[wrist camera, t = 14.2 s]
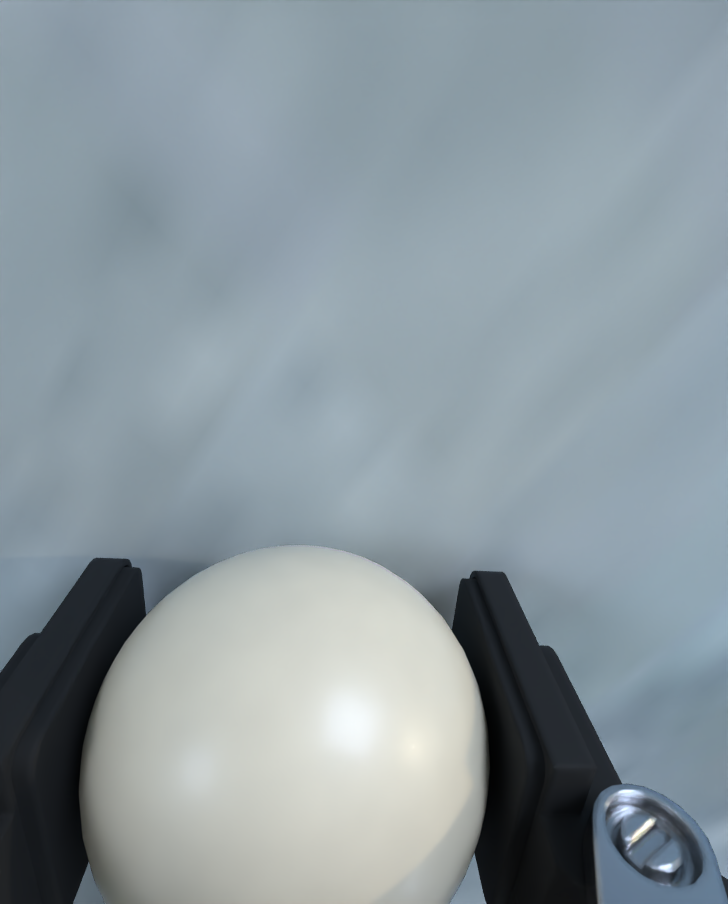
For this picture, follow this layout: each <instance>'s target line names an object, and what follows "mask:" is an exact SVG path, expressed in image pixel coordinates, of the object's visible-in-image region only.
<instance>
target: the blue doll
mask: <svg viewBox="0 0 728 904" xmlns="http://www.w3.org/2000/svg"><path fill="white" fill-rule="evenodd" d="M489 777H490V754H489V737H488V725H487V721H486V716H485V712H484V707H483V703H482V698H481V694H480V690H479V686H478V683H477V681H476V678H475V676H474V673H473V671H472V668H471V666H470V664H469V661H468V659H467V657H466V654H465V652H464V650H463V648H462V647H461V645H460V643H459V642H458V640H457V639H456V637H455V635H454V634H453V632H452V631H451V629H450V628H449V626H448V624H447V623H446V621H445V620H444V618H443V617H442V616H441V615H440V614H439V613H438V612H437V611H436V609H435V608H434V607H433V606H432V605H431V604H430V603H429V602H428V601H427V600H426V599H425V597H424V596H423V595H422V594H421V593H419V592H418V591H417V590H416V589H415V588H414V587H412V586H411V585H410V584H409V583H408V582H406V581H405V580H403V579H402V578H400V577H399V576H397V575H395V574H394V573H392V572H391V571H389V570H388V569H386V568H384V567H383V566H381V565H379V564H377V563H375V562H373V561H371V560H369V559H366V558H364V557H362V556H359V555H356V554H353V553H350V552H347V551H343V550H338V549H333V548H328V547H322V546H311V545H281V546H274V547H266V548H260V549H256V550H252V551H248V552H244V553H241V554H239V555H236V556H233V557H231V558H228V559H225V560H223V561H221V562H219V563H216V564H214V565H212V566H210V567H208V568H207V569H205V570H203V571H201V572H199V573H197V574H195V575H194V576H192V577H191V578H190V579H188V580H187V581H185V582H184V583H183V584H181V585H180V586H178V587H177V588H176V589H174V590H173V591H172V592H171V593H169V594H168V595H167V596H166V597H165V598H164V599H162V600H161V601H160V602H159V603H158V604H157V605H156V606H155V607H154V608H153V609H152V610H151V611H150V612H149V613H148V614H147V615H146V617H145V618H144V619H143V620H142V621H141V622H140V624H139V625H138V626H137V627H136V629H135V630H134V631H133V632H132V634H131V635H130V636H129V638H128V639H127V640H126V642H125V643H124V645H123V646H122V648H121V650H120V651H119V653H118V655H117V656H116V658H115V660H114V661H113V663H112V665H111V667H110V669H109V671H108V672H107V674H106V676H105V678H104V680H103V683H102V685H101V688H100V690H99V693H98V695H97V697H96V700H95V703H94V706H93V709H92V712H91V715H90V718H89V721H88V726H87V730H86V734H85V739H84V743H83V748H82V757H81V765H80V779H79V803H80V815H81V826H82V837H83V841H84V845H85V849H86V852H87V856H88V860H89V864H90V867H91V871H92V874H93V877H94V881H95V883H96V885H97V887H98V889H99V891H100V893H101V895H102V897H103V900H104V902H105V904H449V903H450V901H451V900H452V898H453V897H454V895H455V893H456V892H457V890H458V888H459V886H460V884H461V882H462V881H463V879H464V877H465V874H466V872H467V869H468V867H469V864H470V862H471V859H472V857H473V854H474V852H475V849H476V846H477V843H478V840H479V837H480V833H481V828H482V824H483V820H484V816H485V812H486V805H487V798H488V789H489Z"/></svg>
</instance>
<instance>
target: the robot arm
mask: <svg viewBox="0 0 728 904" xmlns="http://www.w3.org/2000/svg"><path fill="white" fill-rule="evenodd" d="M145 617H146V612H145V601H144V591H143V581H142V573H141V570H140V568H135V567H132V565H131V562H130V560H128V559H113V558H95V559H93V560H92V561H91V562H90V563H89V565H88V566H87V568H86V569H85V571H84V572H83V573H82V575H81V576H80V578H79V579H78V581H77V582H76V583H75V585H74V586H73V588H72V589H71V591H70V592H69V593H68V595H67V596H66V598H65V599H64V601H63V602H62V603H61V605H60V606H59V608H58V609H57V611H56V612H55V613H54V615H53V616H52V618H51V619H50V620H49V622H48V623H47V625H46V626H45V628H44V629H43V630H42V632H41V633H34V634H32V635H30V636H28V637H27V638H26V639H25V640H24V642H23V643H22V644H21V645H20V647H19V648H18V649H17V651H16V652H15V653H14V655H13V656H12V658H11V659H10V660H9V662H8V663H7V664H6V666H5V667H4V669H3V670H2V671H1V673H0V904H73V901H74V899H75V897H76V894H77V891H78V889H79V886H80V883H81V881H82V878H83V875H84V873H85V870H86V868H87V865H88V862H89V860H88V856H87V852H86V849H85V845H84V841H83V837H82V826H81V815H80V803H79V779H80V765H81V757H82V748H83V743H84V739H85V734H86V730H87V726H88V721H89V718H90V715H91V712H92V709H93V706H94V703H95V700H96V697H97V695H98V693H99V690H100V688H101V685H102V683H103V680H104V678H105V676H106V674H107V672H108V671H109V669H110V667H111V665H112V663H113V661H114V660H115V658H116V656H117V655H118V653H119V651H120V650H121V648H122V646H123V645H124V643H125V642H126V640H127V639H128V638H129V636H130V635H131V634H132V632H133V631H134V630H135V629H136V627H137V626H138V625H139V624H140V622H141V621H142V620H143V619H144V618H145ZM452 632H453V634H454V635H455V637H456V639H457V640H458V642H459V643H460V645H461V647H462V648H463V650H464V652H465V654H466V657H467V659H468V661H469V664H470V666H471V668H472V671H473V673H474V676H475V678H476V681H477V683H478V686H479V690H480V694H481V698H482V703H483V707H484V712H485V716H486V721H487V725H488V737H489V754H490V777H489V789H488V798H487V805H486V812H485V816H484V820H483V824H482V828H481V833H480V837H479V840H478V843H477V846H476V849H475V857H476V861H477V866H478V870H479V875H480V880H481V884H482V889H483V893H484V897H485V900H486V903H487V904H728V879H726V878H725V877H723V876H722V875H721V873H720V870H719V866H718V862H717V859H716V856H715V854H714V851H713V849H712V847H711V844H710V842H709V840H708V838H707V837H706V835H705V834H704V832H703V831H702V830H701V828H700V827H699V825H698V824H697V823H696V821H695V820H694V819H693V818H692V817H691V816H690V815H688V814H687V813H686V812H685V811H684V810H683V809H682V808H681V807H680V806H679V805H677V804H676V803H674V802H673V801H671V800H670V799H668V798H667V797H665V796H664V795H662V794H660V793H658V792H656V791H653V790H651V789H649V788H646V787H644V786H638V785H632V784H622V783H621V781H620V779H619V777H618V775H617V773H616V771H615V769H614V767H613V765H612V763H611V761H610V759H609V757H608V755H607V753H606V751H605V749H604V747H603V745H602V743H601V741H600V739H599V737H598V735H597V733H596V731H595V729H594V727H593V725H592V723H591V721H590V719H589V717H588V715H587V713H586V711H585V709H584V707H583V705H582V703H581V701H580V699H579V698H578V696H577V694H576V692H575V690H574V688H573V686H572V684H571V682H570V680H569V678H568V676H567V674H566V672H565V670H564V668H563V666H562V664H561V662H560V660H559V658H558V656H557V654H556V653H555V651H554V650H553V649H552V648H551V647H549V646H539V644H538V642H537V640H536V638H535V636H534V634H533V632H532V629H531V627H530V625H529V623H528V621H527V619H526V617H525V615H524V613H523V610H522V608H521V606H520V604H519V602H518V600H517V598H516V596H515V594H514V591H513V589H512V587H511V585H510V583H509V581H508V579H507V577H506V575H505V574H504V573H503V572H489V571H473V572H472V573H471V575H470V579H464V578H463V579H461V582H460V585H459V591H458V597H457V603H456V609H455V614H454V620H453V626H452Z"/></svg>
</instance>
